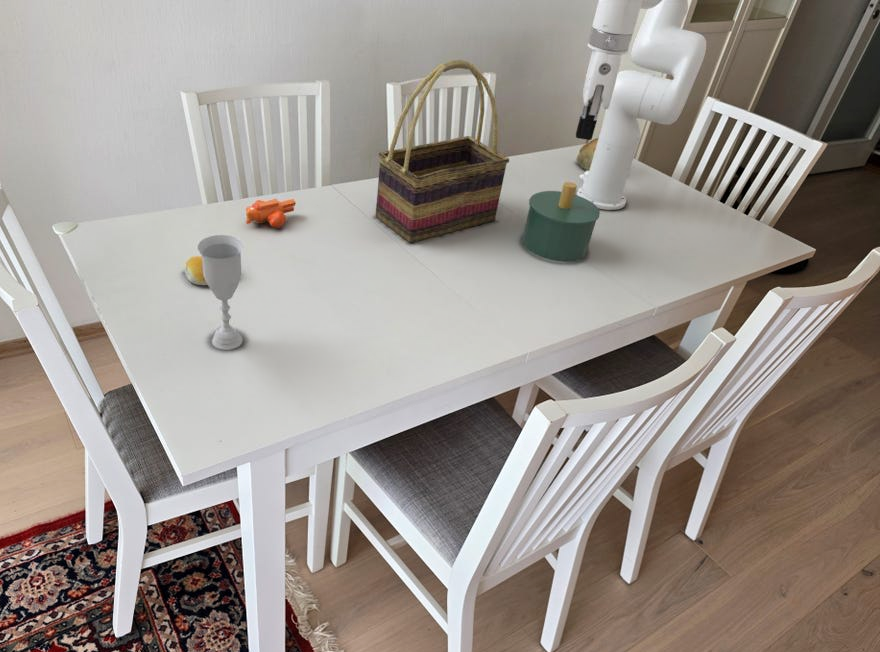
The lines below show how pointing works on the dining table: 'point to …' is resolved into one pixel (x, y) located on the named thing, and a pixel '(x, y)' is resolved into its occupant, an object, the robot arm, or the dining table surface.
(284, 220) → the orange plastic lumpy piece
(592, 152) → the pastry
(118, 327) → the dining table surface
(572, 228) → the tin
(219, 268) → the chalice
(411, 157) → the basket
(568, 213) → the lid
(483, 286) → the dining table surface
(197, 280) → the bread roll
